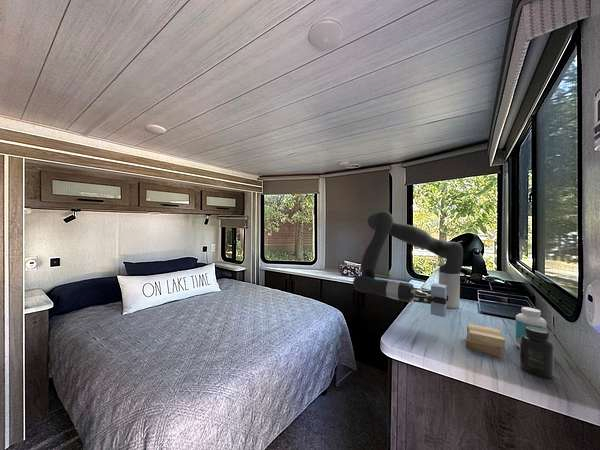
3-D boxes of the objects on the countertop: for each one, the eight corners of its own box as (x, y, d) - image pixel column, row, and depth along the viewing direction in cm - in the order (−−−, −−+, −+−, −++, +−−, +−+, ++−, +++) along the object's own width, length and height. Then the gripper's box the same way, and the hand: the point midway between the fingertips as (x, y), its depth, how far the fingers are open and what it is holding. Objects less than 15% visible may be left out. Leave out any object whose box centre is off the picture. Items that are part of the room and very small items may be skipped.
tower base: (467, 339, 86) (468, 331, 86) (499, 347, 81) (500, 339, 81) (465, 348, 79) (465, 340, 79) (500, 359, 74) (500, 349, 74)
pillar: (433, 310, 92) (433, 283, 92) (446, 313, 89) (446, 285, 89) (430, 314, 89) (431, 285, 89) (444, 317, 86) (444, 287, 86)
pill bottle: (549, 358, 74) (550, 315, 74) (517, 350, 78) (518, 310, 78) (542, 347, 80) (543, 308, 80) (513, 341, 84) (514, 304, 84)
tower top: (466, 331, 86) (467, 323, 86) (498, 338, 81) (498, 329, 81) (469, 341, 78) (469, 332, 78) (504, 349, 74) (505, 340, 74)
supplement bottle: (560, 377, 64) (561, 334, 64) (540, 380, 63) (541, 335, 63) (531, 363, 71) (532, 323, 71) (513, 364, 70) (514, 324, 70)
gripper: (394, 285, 93) (444, 294, 82) (405, 279, 104) (450, 286, 93) (393, 304, 93) (443, 315, 82) (404, 295, 104) (450, 304, 93)
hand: (446, 299), depth 87 cm, fingers closed on pillar, 4 cm apart
